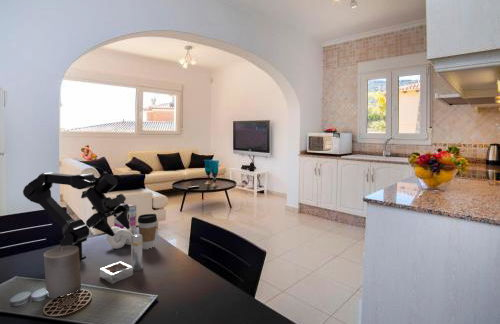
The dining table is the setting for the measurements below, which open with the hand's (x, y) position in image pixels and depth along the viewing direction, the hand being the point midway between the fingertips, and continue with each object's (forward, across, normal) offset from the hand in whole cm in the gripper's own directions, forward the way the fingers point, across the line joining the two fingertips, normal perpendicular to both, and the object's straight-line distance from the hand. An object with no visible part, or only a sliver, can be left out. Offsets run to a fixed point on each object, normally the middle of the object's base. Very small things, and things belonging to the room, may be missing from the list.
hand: (121, 231), depth 114 cm
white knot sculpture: (+2, +17, +19) cm, 26 cm away
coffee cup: (+10, +19, +10) cm, 24 cm away
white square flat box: (+13, -8, +6) cm, 16 cm away
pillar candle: (+7, -22, +13) cm, 26 cm away
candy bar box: (-2, +29, +24) cm, 38 cm away
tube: (+15, -1, +3) cm, 15 cm away
